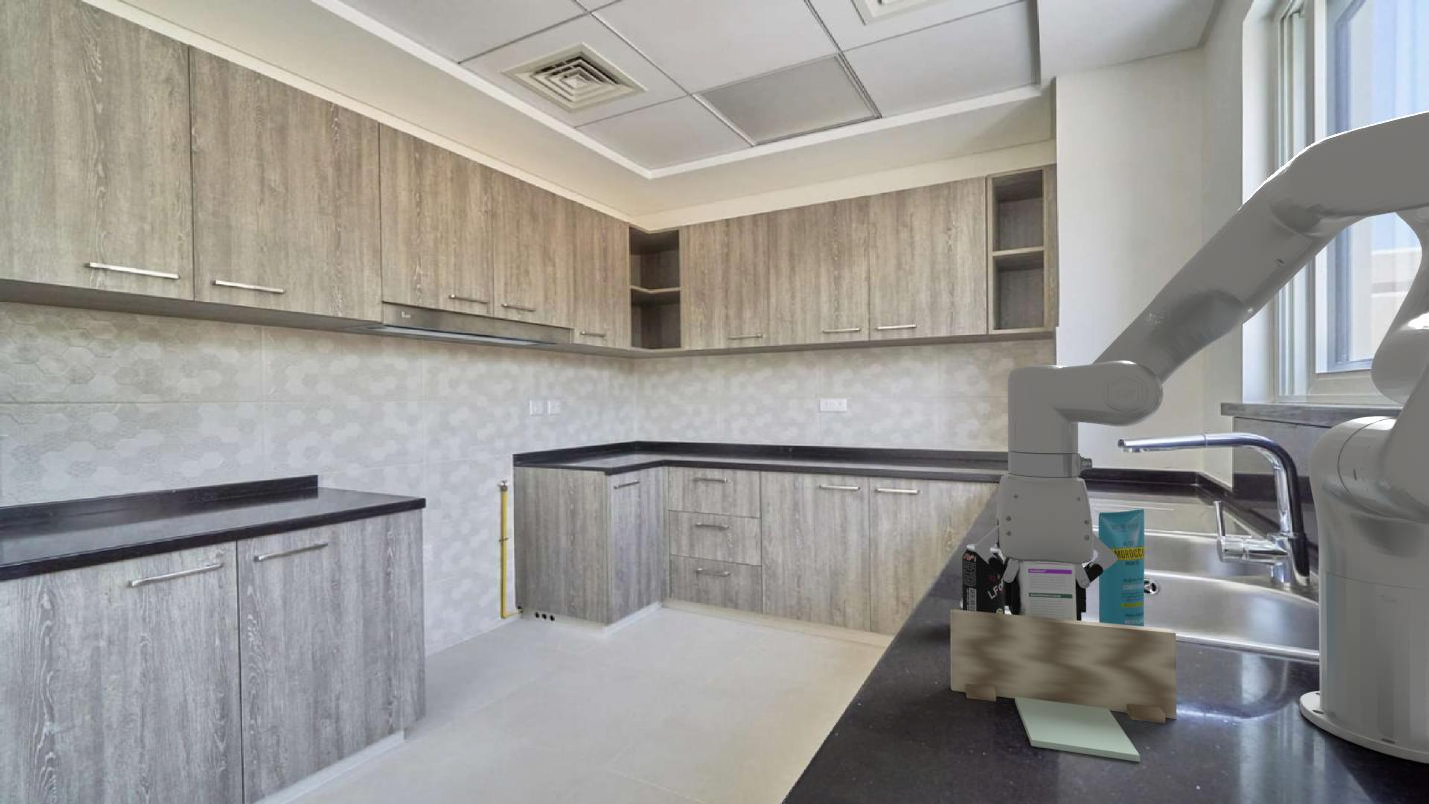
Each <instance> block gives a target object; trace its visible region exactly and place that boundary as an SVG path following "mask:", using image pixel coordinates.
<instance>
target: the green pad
mask: <svg viewBox="0 0 1429 804" xmlns="http://www.w3.org/2000/svg"><path fill="white" fill-rule="evenodd" d="M1014 702H1015V706H1016V708H1017V711H1018V714H1019V716H1020V719H1021V721H1022V724H1023V727H1024V729H1025V733H1026V735H1027V737H1028V740H1029V742H1030V745H1031V747H1037V748H1044V749H1051V750H1057V751H1064V752H1071V753H1077V754H1085V755H1092V756H1099V757H1103V758H1104V757H1105V758H1111V759H1117V760H1124V761H1125V760H1126V761H1131V762H1137V763H1141V756H1140V754H1139V752H1138V750H1137V749H1136V748H1135V746H1134V745H1133V743H1132V741H1131V740H1130V738H1129V737H1128V735H1127V734H1126V733H1125V731H1124V730H1123V728H1122V727H1121V725H1120V724H1119V722H1118V721H1117V720H1116V718H1115V717H1114V714H1113V713H1112V712H1111V711H1109V709H1108V708H1101V707H1093V706H1085V705H1077V704H1069V703H1061V702H1053V701H1045V700H1038V699H1030V698H1022V697H1015V698H1014Z"/></svg>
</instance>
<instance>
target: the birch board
mask: <svg viewBox="0 0 1429 804" xmlns="http://www.w3.org/2000/svg"><path fill="white" fill-rule="evenodd" d="M949 613H950V616H949V617H950V688H951V691H953V692H963V693H965V695H966V698H967V699H971V700H972V699H973V700H981V701H989V702H995V703H996V702H997V697H1001V698H1007V699H1008V698H1009V699H1015V697H1022V698H1030V699H1038V700H1045V701H1053V702H1061V703H1069V704H1077V705H1085V706H1093V707H1101V708H1108V709H1109V711H1110V712H1111V711H1112V712H1118V713H1126V714H1127V716H1128V717H1130V718H1129V719H1131V720H1134V721H1142V722H1143V721H1144V722H1149V723H1150V722H1151V723H1159V724H1166V719H1172V720H1173V719H1174V720H1177V718H1178V717H1177V636H1176V635H1177V632H1175V630H1173V629H1172V628H1166V627H1165V628H1162V627H1154V626H1153V627H1151V626H1144V627H1143V626H1132V625H1121V624H1110V623H1099V621H1098V622H1096V621H1089V620H1088V621H1087V620H1081V621H1077V620H1065V619H1054V618H1043V617H1032V616H1021V615H1012V614H1011V613H1010V614H1008V613H1005V614H999V613H988V612H976V611H965V610H962V609H954V608H953V609H951V608H950V612H949Z"/></svg>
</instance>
